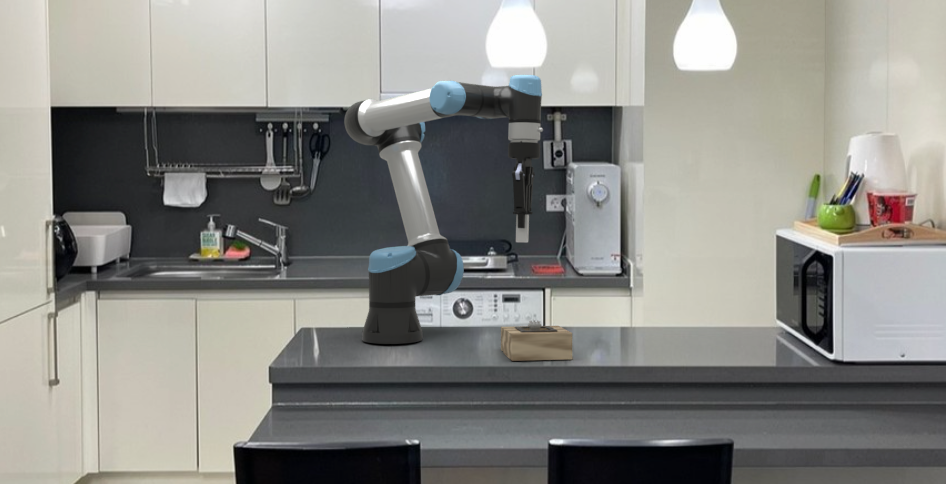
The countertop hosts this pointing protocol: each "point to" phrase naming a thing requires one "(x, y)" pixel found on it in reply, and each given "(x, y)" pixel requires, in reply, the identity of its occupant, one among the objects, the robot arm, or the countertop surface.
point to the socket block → (536, 343)
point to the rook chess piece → (534, 325)
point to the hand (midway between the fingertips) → (522, 242)
